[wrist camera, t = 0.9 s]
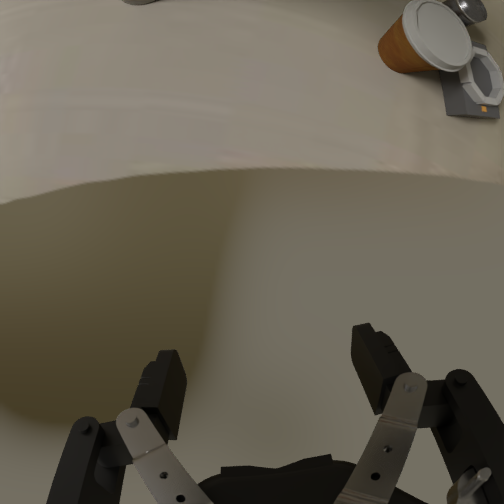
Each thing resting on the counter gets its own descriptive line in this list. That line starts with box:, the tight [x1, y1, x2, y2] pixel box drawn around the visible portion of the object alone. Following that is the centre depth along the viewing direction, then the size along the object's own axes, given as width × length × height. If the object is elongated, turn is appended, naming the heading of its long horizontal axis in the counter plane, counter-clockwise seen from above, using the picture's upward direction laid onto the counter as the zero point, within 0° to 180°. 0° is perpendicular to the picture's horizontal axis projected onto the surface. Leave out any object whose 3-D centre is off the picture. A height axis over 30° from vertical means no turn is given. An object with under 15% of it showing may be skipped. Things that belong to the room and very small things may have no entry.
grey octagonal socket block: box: [439, 41, 504, 119], centre depth 28 cm, size 12×8×7 cm
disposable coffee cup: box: [378, 0, 472, 73], centre depth 25 cm, size 10×10×12 cm
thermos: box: [443, 0, 487, 27], centre depth 23 cm, size 5×5×9 cm
